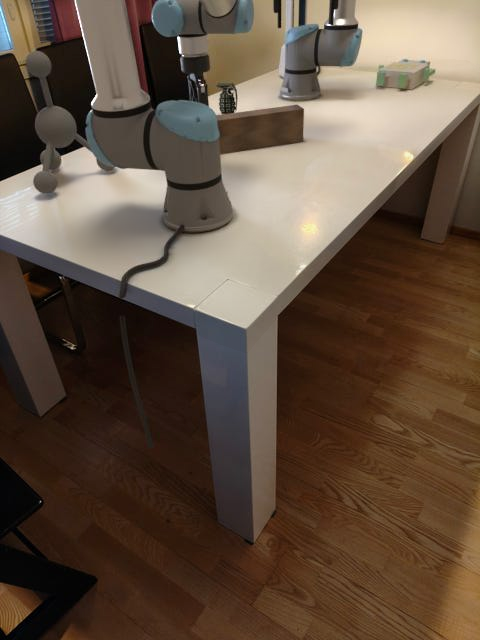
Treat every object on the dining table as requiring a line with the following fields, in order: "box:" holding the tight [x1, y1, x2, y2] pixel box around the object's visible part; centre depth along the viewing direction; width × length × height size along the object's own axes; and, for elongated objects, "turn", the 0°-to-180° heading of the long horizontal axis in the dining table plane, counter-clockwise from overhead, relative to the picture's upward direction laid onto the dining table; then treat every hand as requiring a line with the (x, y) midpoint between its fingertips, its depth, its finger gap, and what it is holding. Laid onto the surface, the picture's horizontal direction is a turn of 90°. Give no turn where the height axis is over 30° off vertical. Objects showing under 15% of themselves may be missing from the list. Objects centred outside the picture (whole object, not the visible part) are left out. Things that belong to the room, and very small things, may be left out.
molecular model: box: [25, 50, 116, 195], centre depth 121 cm, size 24×22×30 cm
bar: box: [216, 104, 305, 155], centre depth 140 cm, size 34×5×9 cm, turn 106°
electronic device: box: [278, 0, 308, 79], centre depth 202 cm, size 12×8×30 cm, turn 105°
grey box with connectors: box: [375, 58, 437, 90], centre depth 192 cm, size 26×6×20 cm
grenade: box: [215, 82, 238, 115], centre depth 166 cm, size 7×6×10 cm
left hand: (202, 144), depth 139 cm, fingers open, 7 cm apart
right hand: (305, 26), depth 129 cm, fingers open, 13 cm apart
